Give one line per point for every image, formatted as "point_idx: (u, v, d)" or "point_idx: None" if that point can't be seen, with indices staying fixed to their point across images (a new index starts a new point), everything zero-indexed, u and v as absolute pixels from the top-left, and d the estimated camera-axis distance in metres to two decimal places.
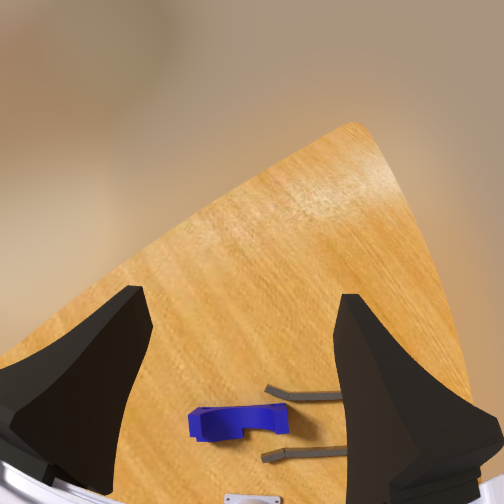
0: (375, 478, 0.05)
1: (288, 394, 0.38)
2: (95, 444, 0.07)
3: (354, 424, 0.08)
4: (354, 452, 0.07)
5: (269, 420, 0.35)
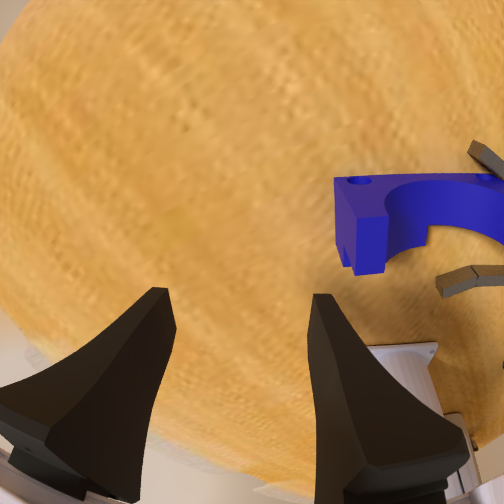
0: (334, 483, 0.05)
1: None
2: (125, 453, 0.07)
3: (321, 426, 0.08)
4: (321, 454, 0.07)
5: (490, 216, 0.14)
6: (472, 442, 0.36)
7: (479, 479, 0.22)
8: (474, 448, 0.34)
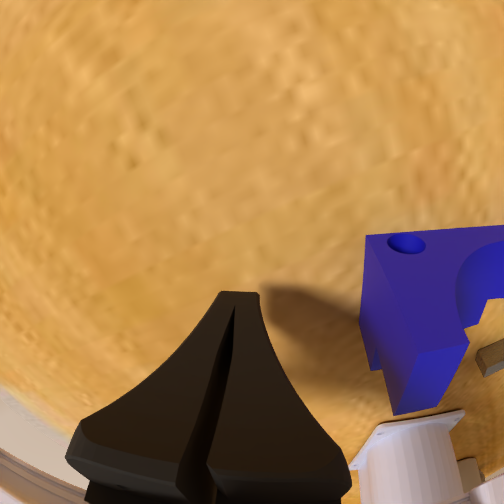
0: None
1: None
2: None
3: None
4: None
5: None
6: (480, 476, 0.29)
7: None
8: None
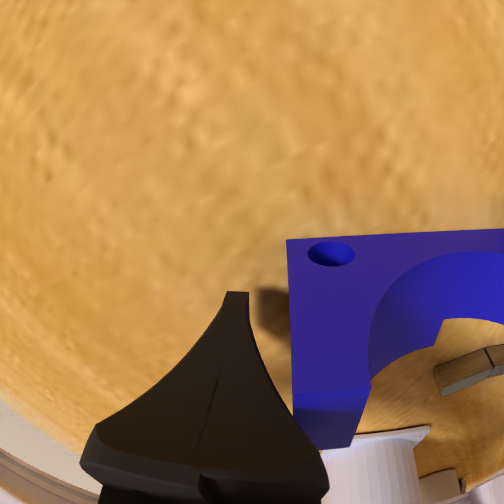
0: None
1: None
2: None
3: None
4: None
5: None
6: (462, 486, 0.28)
7: None
8: None
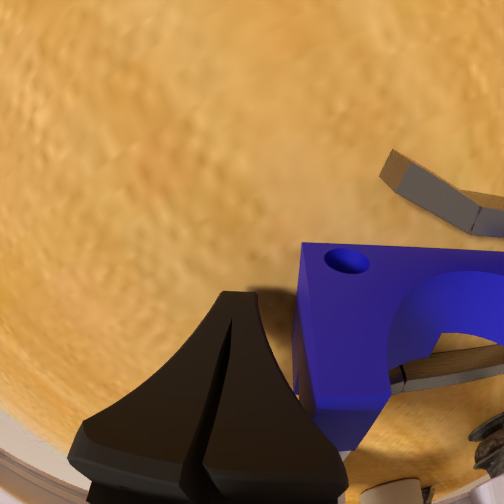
0: None
1: (477, 212, 0.08)
2: None
3: None
4: None
5: None
6: (429, 495, 0.28)
7: None
8: None
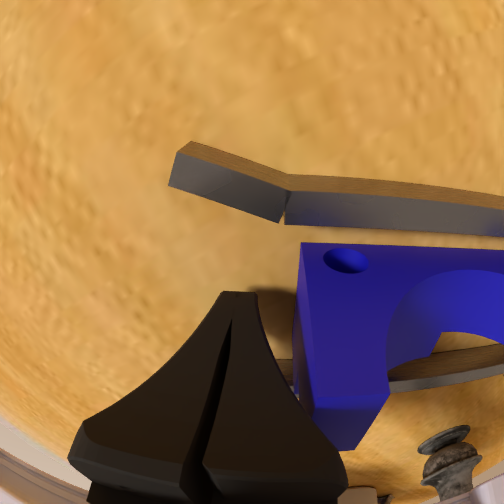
0: None
1: (285, 197, 0.08)
2: None
3: None
4: None
5: None
6: None
7: None
8: None
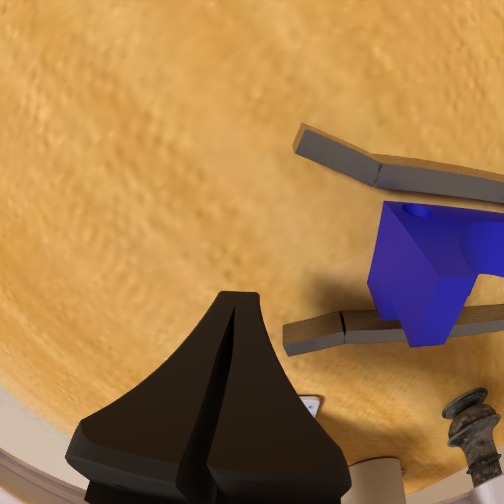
0: None
1: (378, 167, 0.11)
2: None
3: None
4: None
5: None
6: None
7: None
8: None
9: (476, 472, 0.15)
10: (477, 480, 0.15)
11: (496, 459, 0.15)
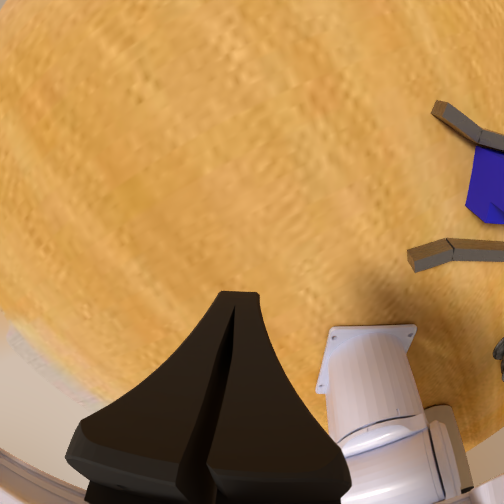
0: None
1: (480, 131, 0.14)
2: None
3: None
4: None
5: None
6: None
7: (470, 476, 0.21)
8: None
9: None
10: None
11: None
